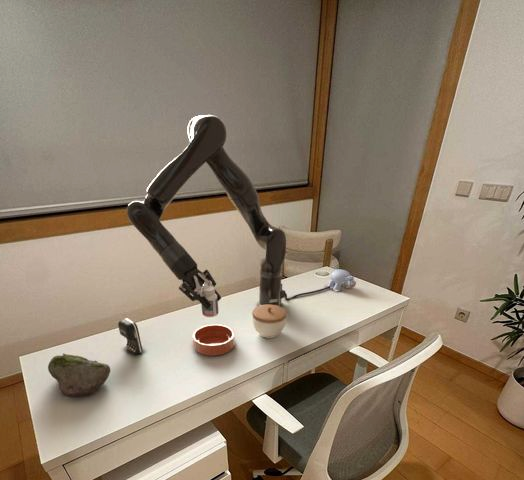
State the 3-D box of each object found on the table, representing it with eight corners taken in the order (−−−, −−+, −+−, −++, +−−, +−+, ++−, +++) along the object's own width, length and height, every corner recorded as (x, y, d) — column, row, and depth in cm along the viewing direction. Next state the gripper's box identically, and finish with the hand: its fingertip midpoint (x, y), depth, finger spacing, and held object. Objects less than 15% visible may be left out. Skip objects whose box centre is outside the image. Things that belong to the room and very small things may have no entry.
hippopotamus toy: (344, 295, 152) (348, 276, 147) (322, 285, 162) (325, 267, 157) (360, 291, 157) (363, 272, 152) (337, 281, 167) (340, 263, 162)
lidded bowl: (247, 338, 119) (246, 311, 113) (259, 322, 129) (259, 297, 123) (279, 344, 116) (280, 317, 109) (289, 328, 125) (291, 302, 119)
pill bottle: (212, 308, 108) (210, 283, 103) (221, 314, 105) (220, 288, 100) (198, 313, 104) (196, 288, 100) (208, 319, 101) (206, 293, 96)
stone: (120, 386, 95) (112, 359, 89) (69, 409, 87) (56, 380, 81) (96, 359, 106) (88, 333, 100) (49, 377, 98) (37, 350, 92)
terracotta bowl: (217, 330, 123) (216, 320, 120) (242, 345, 115) (242, 334, 112) (186, 345, 114) (184, 334, 112) (211, 361, 106) (210, 350, 104)
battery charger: (123, 349, 111) (115, 320, 105) (133, 344, 114) (125, 316, 107) (133, 357, 108) (126, 327, 101) (143, 352, 110) (137, 323, 104)
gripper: (170, 260, 91) (209, 307, 94) (198, 247, 102) (232, 289, 105) (157, 275, 96) (195, 319, 99) (186, 261, 107) (219, 301, 109)
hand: (214, 303), depth 102 cm, fingers closed on pill bottle, 5 cm apart
